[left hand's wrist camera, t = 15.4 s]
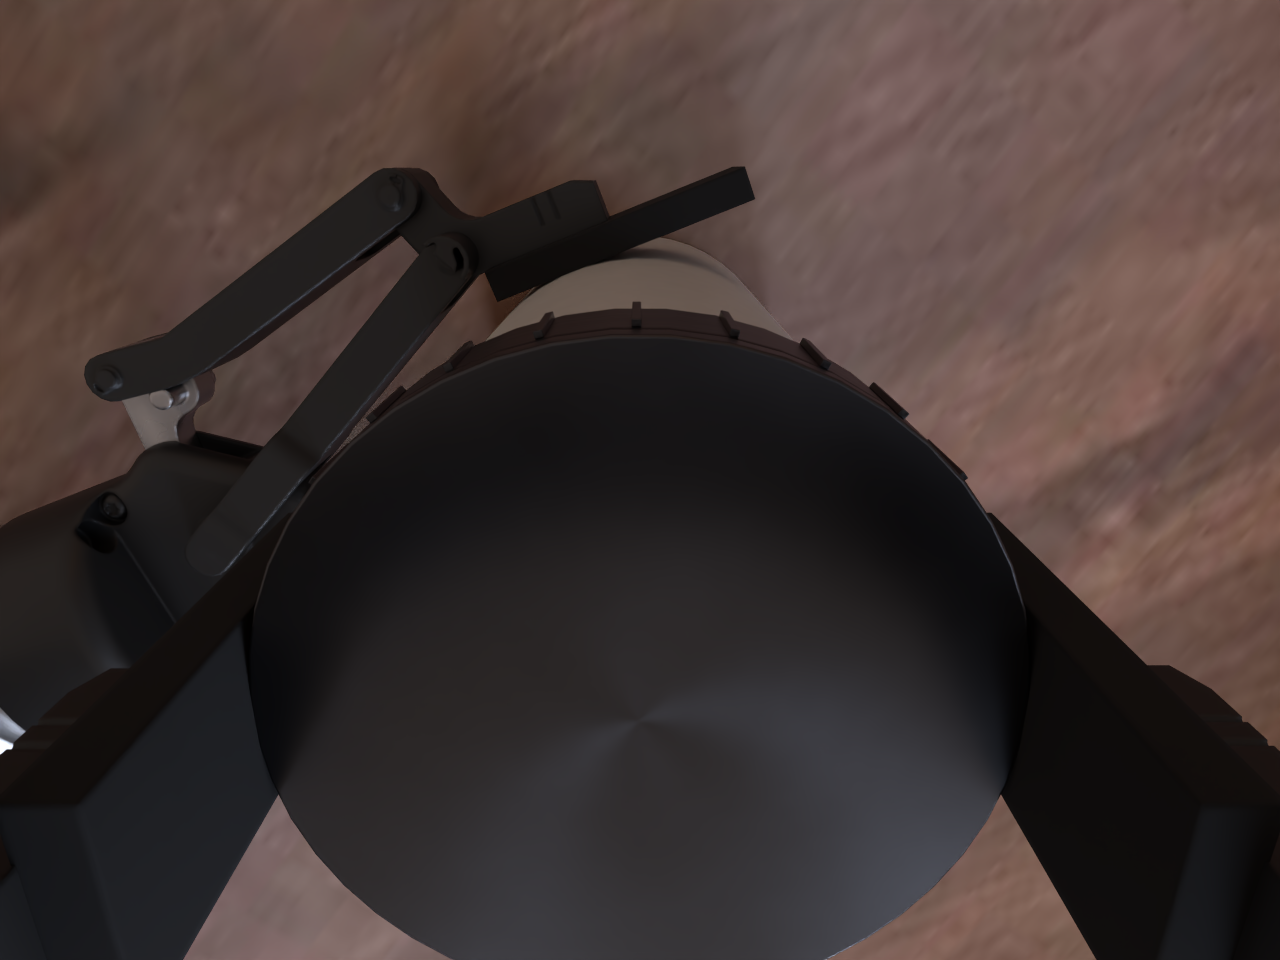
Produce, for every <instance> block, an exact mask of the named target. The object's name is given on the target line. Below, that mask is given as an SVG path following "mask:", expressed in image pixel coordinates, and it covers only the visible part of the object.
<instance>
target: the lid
mask: <svg viewBox="0 0 1280 960" xmlns="http://www.w3.org/2000/svg"><path fill="white" fill-rule="evenodd" d="M908 415H909V413H908V412H907V411H906V410H905V409H903V408H902V407H901V406H900V405H899V404H898V403H897V402H896V401H895V400H894V399H892V398H891V397H890V396H889V395H888V394H887V393H886V392H885V391H884V390H883V389H881V388H880V387H879V386H878V385H877V384H876V383H874V382H873V383H872V384H871V385H870V387H868V386H867V385H865V384H864V383H863V382H862V381H860V380H859V379H858V378H857V377H855V376H854V375H853V374H852V373H851V372H849V371H847V370H846V369H844V368H842V367H841V366H839V365H837V364H836V363H834V362H832V361H831V360H829V359H827V358H826V357H825V356H824V355H823V354H822V353H821V352H820V351H819V350H818V349H817V348H816V347H815V346H814V345H813V344H812V343H811V342H810V341H809V340H807V339H805V338H803V339H802V340H801V342H800V344H799V343H797V342H795V341H792V340H790V339H788V338H785V337H783V336H781V335H778V334H776V333H773V332H771V331H769V330H766V329H764V328H760V327H757V326H753V325H749V324H746V323H742V322H738V321H735V320H733V318H732V316H731V315H730V313H729V312H727V311H723V310H721V311H720V315H719V316H717V315H710V314H702V313H695V312H687V311H680V310H673V309H641V302H632V309H616V308H615V309H607V310H600V311H592V312H585V313H577V314H569V315H563V316H560V317H556V318H555V317H554V313H553V311H552V312H548V313H545V314H544V316H543V317H542V319H541V320H540V322H537V323H534V324H530V325H526V326H522V327H519V328H516V329H513V330H511V331H508V332H506V333H504V334H501V335H499V336H497V337H494V338H492V339H489V340H487V341H485V342H482V343H480V344H478V345H475V346H474V344H473V342H472V341H469V342H467V343H465V344H464V345H463V346H462V347H461V348H460V349H459V350H458V351H457V352H456V353H455V354H454V355H453V356H452V357H451V358H450V359H449V360H448V361H447V362H445V363H444V364H442V365H440V366H439V367H437V368H435V369H434V370H432V371H430V372H429V373H428V374H427V375H425V376H424V377H423V378H422V379H420V380H419V381H418V382H417V383H415V384H414V385H413V386H412V387H410V388H409V389H408V390H407V391H406V390H405V388H404V387H403V386H400V387H399V388H398V389H397V390H396V391H394V392H393V393H392V394H391V395H390V396H389V397H388V398H387V399H386V400H385V401H383V402H382V403H381V404H380V405H379V406H378V407H377V408H376V409H375V410H373V411H372V412H371V413H370V414H369V415H368V416H367V417H366V419H367V420H368V421H369V422H370V424H369V425H368V426H367V427H365V428H364V429H363V430H362V431H361V432H360V433H359V434H358V435H357V436H356V437H355V438H354V439H353V440H352V441H351V442H350V443H348V444H347V445H345V446H344V447H343V448H342V449H341V450H340V451H339V452H338V453H337V454H336V455H335V456H334V457H333V458H332V459H331V460H330V461H328V462H327V463H326V464H325V465H324V466H323V467H322V468H321V469H320V470H319V471H318V472H317V473H316V474H315V475H314V476H313V477H312V478H311V479H310V481H309V484H311V487H310V488H309V490H308V491H307V493H306V494H305V496H304V497H303V499H302V500H301V502H300V503H299V505H298V506H297V507H296V509H295V510H294V512H293V513H292V515H291V516H290V518H289V519H288V521H287V523H286V525H285V527H284V529H283V531H282V534H281V536H280V538H279V540H278V542H277V544H276V546H275V548H274V550H273V553H272V555H271V557H270V559H269V561H268V563H267V566H266V570H265V573H264V576H263V580H262V583H261V587H260V590H259V594H258V597H257V601H256V604H255V607H254V614H253V622H252V630H251V638H250V646H249V683H250V697H251V702H252V708H253V713H254V718H255V723H256V729H257V734H258V739H259V744H260V748H261V751H262V754H263V757H264V760H265V763H266V765H267V768H268V771H269V774H270V777H271V780H272V782H273V784H274V786H275V788H276V790H277V792H278V794H279V796H280V798H281V800H282V802H283V804H284V806H285V808H286V810H287V812H288V813H289V815H290V817H291V819H292V821H293V822H294V824H295V825H296V826H297V828H298V829H299V831H300V832H301V834H302V835H303V836H304V838H305V839H306V841H307V842H308V844H309V845H310V846H311V848H312V849H313V851H314V852H315V854H316V855H317V856H318V857H319V858H320V859H321V860H322V861H323V863H324V864H325V865H326V866H327V867H328V868H329V869H330V870H331V871H332V873H333V874H334V875H335V876H336V877H337V878H338V879H339V880H340V881H341V882H342V884H343V885H344V886H345V887H347V888H348V889H349V890H350V891H351V892H352V893H353V894H355V895H356V896H357V897H358V898H359V899H360V900H362V901H363V902H364V903H365V904H366V905H367V906H368V907H370V908H371V909H372V910H373V911H374V912H375V913H377V914H378V915H379V916H381V917H382V918H384V919H385V920H387V921H388V922H390V923H391V924H393V925H394V926H395V927H397V928H398V929H400V930H401V931H403V932H404V933H406V934H407V935H409V936H410V937H411V938H413V939H415V940H417V941H419V942H421V943H423V944H424V945H426V946H428V947H430V948H432V949H434V950H436V951H437V952H439V953H441V954H443V955H445V956H447V957H449V958H451V959H453V960H826V959H829V958H831V957H833V956H834V955H836V954H838V953H840V952H842V951H844V950H846V949H847V948H849V947H851V946H853V945H855V944H857V943H859V942H861V941H862V940H864V939H866V938H868V937H869V936H871V935H872V934H874V933H875V932H877V931H878V930H879V929H881V928H882V927H884V926H885V925H887V924H888V923H890V922H891V921H893V920H894V919H896V918H897V917H899V916H900V915H901V914H903V913H904V912H905V911H906V910H907V909H909V908H910V907H911V906H912V905H913V904H914V903H915V902H917V901H918V900H919V899H920V898H921V897H922V896H924V895H925V894H926V893H927V892H928V891H929V890H931V889H932V888H933V887H934V886H935V885H936V884H937V883H938V882H939V881H940V879H941V878H942V877H943V876H944V875H945V874H946V873H947V872H948V871H949V870H950V868H951V867H952V866H953V865H954V864H955V863H956V862H957V861H958V860H959V859H960V857H961V856H962V855H963V854H964V853H965V851H966V850H967V848H968V847H969V845H970V844H971V843H972V841H973V840H974V838H975V837H976V835H977V834H978V833H979V831H980V830H981V828H982V827H983V826H984V824H985V823H986V821H987V820H988V818H989V816H990V814H991V812H992V810H993V808H994V806H995V804H996V802H997V800H998V799H999V797H1000V795H1001V793H1002V791H1003V789H1004V787H1005V785H1006V783H1007V781H1008V778H1009V775H1010V772H1011V769H1012V766H1013V764H1014V761H1015V758H1016V755H1017V752H1018V749H1019V746H1020V741H1021V736H1022V730H1023V725H1024V720H1025V715H1026V709H1027V704H1028V698H1029V692H1030V664H1031V652H1030V644H1029V635H1028V627H1027V619H1026V610H1025V606H1024V603H1023V599H1022V596H1021V592H1020V589H1019V585H1018V582H1017V578H1016V575H1015V571H1014V568H1013V565H1012V563H1011V560H1010V558H1009V556H1008V554H1007V552H1006V550H1005V547H1004V545H1003V543H1002V541H1001V539H1000V537H999V535H998V533H997V530H996V528H995V526H994V524H993V522H992V520H991V519H990V517H989V516H988V514H987V513H986V511H985V510H984V508H983V507H982V505H981V504H980V502H979V501H978V499H977V498H976V497H975V495H974V494H973V492H972V491H971V489H970V488H969V486H968V485H967V483H966V482H965V480H966V479H968V477H967V476H966V474H965V473H964V472H963V471H962V470H961V469H960V468H959V467H958V466H957V465H956V464H955V463H954V462H952V461H951V460H950V459H949V458H948V457H947V456H946V455H945V454H944V453H943V452H942V451H941V450H940V449H939V448H938V447H936V446H935V445H934V444H933V443H932V442H931V441H930V440H929V439H928V440H927V439H926V438H925V437H923V436H922V435H921V434H920V433H919V432H918V431H917V430H916V429H915V428H914V427H913V426H912V425H911V424H910V423H909V422H908V421H907V420H905V418H906V417H907V416H908Z"/></svg>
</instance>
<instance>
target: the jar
mask: <svg viewBox="0 0 1280 960" xmlns="http://www.w3.org/2000/svg"><path fill="white" fill-rule="evenodd" d="M632 302H641V309H673V310H680V311H687V312H695V313H702V314H710V315H717V316H719V315H720V311H721V310H723V311H727V312H729V313H730V315H731V316H732V318H733V320H735V321H738V322H742V323H746V324H749V325H753V326H757V327H760V328H764V329H766V330H769V331H771V332H773V333H776V334H778V335H781V336H783V337H785V338H788V339H790V340H792V341H794V340H793V339H792V338H791V337H790V336H789V334H788V333H787V332H786V331H785V330H784V329H783V328H782V327H781V326H780V324H779V323H778V322H777V321H776V320H775V319H774V318H773V317H772V316H771V314H770V313H769V312H768V311H767V310H766V309H765V308H764V307H763V305H762V304H761V303H760V302H759V301H758V300H757V299H756V298H755V297H754V295H753V294H752V293H751V292H750V291H749V290H748V289H747V288H746V286H745V285H744V284H743V283H742V282H741V281H740V280H739V279H738V278H737V276H736V275H735V274H734V273H732V272H731V271H730V270H729V269H728V268H727V267H726V266H724V265H723V264H722V263H721V262H719V261H718V260H716V259H715V258H713V257H712V256H710V255H708V254H707V253H705V252H703V251H701V250H699V249H697V248H695V247H692V246H690V245H688V244H684V243H681V242H678V241H675V240H672V239H666V238H660V237H659V238H656V239H654V240H651V241H649V242H646V243H644V244H641V245H639V246H636V247H634V248H631V249H629V250H626V251H624V252H621V253H619V254H616V255H614V256H611V257H609V258H606V259H604V260H601V261H599V262H596V263H594V264H591V265H589V266H586V267H584V268H581V269H579V270H576V271H574V272H571V273H569V274H566V275H564V276H561V277H559V278H556V279H554V280H551V281H549V282H546V283H544V284H541V285H538V286H536V287H533V288H532V290H531V291H530V292H529V293H528V294H527V295H526V296H525V297H524V298H523V300H522V301H521V302H520V303H519V304H518V305H517V306H516V307H515V308H514V310H513V311H512V312H511V313H510V314H509V315H508V316H507V317H506V318H505V320H504V321H503V322H502V323H501V324H500V325H499V326H498V327H497V328H496V330H495V331H494V332H493V333H492V334H491V335H490V336H489V337H488V338H487V339H486V341H487V340H489V339H492V338H494V337H497V336H499V335H501V334H504V333H506V332H508V331H511V330H513V329H516V328H519V327H522V326H526V325H530V324H534V323H537V322H540V320H541V319H542V317H543V316H544V314H545V313H548V312H552V311H553V313H554V317H555V318H556V317H560V316H563V315H569V314H577V313H585V312H592V311H600V310H607V309H615V308H616V309H632Z"/></svg>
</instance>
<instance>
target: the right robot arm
mask: <svg viewBox="0 0 1280 960" xmlns="http://www.w3.org/2000/svg"><path fill="white" fill-rule="evenodd" d="M754 199H755V197H754V194H753V191H752V188H751V184H750V181H749V178H748V175H747V172H746V169H745V167H731V168H729V169H726V170H724V171H721V172H719V173H716V174H714V175H711V176H709V177H706V178H704V179H701V180H699V181H696V182H694V183H692V184H689V185H687V186H684V187H682V188H679V189H677V190H674V191H672V192H669V193H667V194H664V195H662V196H659V197H657V198H655V199H652V200H650V201H647V202H645V203H642V204H640V205H637V206H635V207H632V208H630V209H627V210H625V211H622V212H620V213H618V214H615V215H613V216H609V214H608V211H607V209H606V206H605V203H604V201H603V198H602V195H601V193H600V190H599V187H598V185H597V182H596V180H572V181H569V182H566V183H564V184H561V185H559V186H556V187H554V188H552V189H549V190H547V191H544V192H542V193H540V194H537V195H535V196H532V197H530V198H527V199H525V200H523V201H520V202H518V203H515V204H513V205H511V206H508V207H506V208H503V209H501V210H498V211H496V212H494V213H491V214H489V215H486V216H484V217H474V216H470V215H467V214H465V213H463V212H462V211H460V210H459V209H458V208H457V207H456V206H455V205H454V204H453V203H452V202H451V201H450V200H449V199H448V198H447V197H446V195H445V194H444V193H443V192H442V191H441V190H440V189H439V186H438V184H437V182H436V180H435V178H434V177H433V176H432V175H431V174H430V173H428V172H427V171H424V170H422V169H420V168H383V169H381V170H379V171H377V172H374V173H373V174H372V175H370V176H369V177H368V178H367V179H365V180H364V181H363V182H361V183H360V184H359V185H358V186H356V187H355V188H354V189H352V190H351V191H350V192H349V193H347V194H346V195H345V196H343V197H342V198H341V199H340V200H338V201H337V202H336V203H334V204H333V205H332V206H331V207H329V208H328V209H327V210H325V211H324V212H323V213H322V214H320V215H319V216H318V217H316V218H315V219H314V220H313V221H311V222H310V223H309V224H307V225H306V226H305V227H304V228H302V229H301V230H300V231H298V232H297V233H296V234H295V235H293V236H292V237H291V238H289V239H288V240H287V241H286V242H284V243H283V244H282V245H280V246H279V247H278V248H277V249H275V250H274V251H273V252H271V253H270V254H269V255H267V256H266V257H265V258H264V259H262V260H261V261H260V262H258V263H257V264H256V265H255V266H253V267H252V268H251V269H249V270H248V271H247V272H246V273H244V274H243V275H242V276H240V277H239V278H238V279H237V280H235V281H234V282H233V283H231V284H230V285H229V286H228V287H226V288H225V289H224V290H222V291H221V292H220V293H219V294H217V295H216V296H215V297H213V298H212V299H211V300H210V301H208V302H207V303H206V304H204V305H203V306H202V307H201V308H199V309H198V310H197V311H195V312H194V313H193V314H192V315H190V316H189V317H188V318H186V319H185V320H184V321H183V322H181V323H180V324H179V325H177V326H176V327H175V328H174V329H172V330H171V331H170V332H168V333H165V334H161V335H157V336H153V337H150V338H147V339H144V340H141V341H138V342H135V343H132V344H129V345H126V346H123V347H121V348H118V349H115V350H112V351H109V352H106V353H103V354H100V355H97V356H96V357H94V358H92V359H90V360H89V362H88V363H87V365H86V366H85V373H84V376H85V379H86V383H87V385H88V386H89V388H90V389H91V391H92V392H93V393H94V394H96V395H97V396H98V397H100V398H101V399H104V400H107V401H122V402H123V404H124V406H125V408H126V410H127V412H128V414H129V416H130V419H131V421H132V423H133V425H134V427H135V429H136V431H137V433H138V435H139V437H140V440H141V442H142V444H143V446H144V448H145V451H144V452H143V453H141V454H140V456H139V457H138V458H137V459H136V461H135V463H134V464H133V466H132V468H131V469H130V470H129V471H128V472H127V473H126V474H124V475H121V476H119V477H116V478H114V479H111V480H109V481H106V482H104V483H101V484H99V485H96V486H93V487H91V488H88V489H86V490H83V491H81V492H78V493H76V494H73V495H71V496H68V497H66V498H63V499H61V500H58V501H55V502H53V503H50V504H48V505H45V506H43V507H40V508H38V509H35V510H33V511H30V512H28V513H25V514H23V515H21V516H19V517H16V518H14V519H12V520H11V521H9V522H8V523H7V524H5V525H0V755H1V754H2V753H3V752H4V751H5V750H6V749H12V747H13V743H14V742H15V741H16V740H17V739H18V738H19V737H20V736H21V735H22V734H23V733H25V732H26V731H27V730H28V729H29V728H30V727H31V726H32V725H38V722H39V721H38V720H39V719H40V718H41V717H42V716H43V715H44V714H45V713H46V712H47V711H49V710H50V709H51V708H52V707H53V706H54V705H55V704H56V703H57V702H58V701H59V700H61V699H62V698H63V697H64V696H65V695H66V694H67V693H68V692H70V691H71V690H73V689H75V688H77V687H78V686H80V685H82V684H84V683H86V682H87V681H89V680H91V679H93V678H94V677H96V676H98V675H100V674H102V673H103V672H105V671H107V670H109V669H110V668H130V667H131V666H132V665H133V664H134V663H135V662H136V661H137V660H138V659H139V658H140V657H141V656H142V655H143V654H144V653H145V652H146V651H147V650H148V649H150V648H151V647H152V646H153V645H154V644H155V643H156V642H157V641H158V640H159V639H160V638H161V637H162V636H163V635H164V634H165V633H166V632H167V631H168V630H169V629H170V628H171V627H172V626H173V625H174V624H175V623H176V622H177V621H178V620H179V619H180V618H181V617H182V616H183V615H184V614H185V613H186V612H187V611H188V610H189V609H190V608H191V607H192V606H193V605H194V604H196V603H197V602H198V601H199V600H200V599H201V598H202V597H203V596H204V595H205V594H206V593H207V592H208V591H209V590H210V589H211V588H212V587H213V586H214V585H215V584H216V583H217V582H218V581H219V580H220V579H221V578H222V577H223V576H224V575H225V574H226V573H227V572H228V571H229V570H230V569H231V568H232V567H233V566H234V565H235V564H236V563H237V562H238V561H239V560H240V559H241V558H243V557H244V556H245V555H246V554H247V553H248V552H249V551H250V550H251V549H252V548H253V547H254V546H255V545H256V544H257V543H258V542H259V541H260V540H261V539H262V538H263V537H264V536H265V535H266V534H267V533H268V532H269V531H270V530H271V529H272V528H273V527H274V526H275V525H276V524H277V523H278V522H279V521H280V520H281V519H282V518H283V517H284V516H285V515H286V514H287V513H293V512H294V510H295V509H296V507H297V506H298V505H299V503H300V502H301V500H302V499H303V497H304V496H305V494H306V493H307V491H308V490H309V488H310V487H311V484H309V481H310V479H311V478H312V477H313V476H314V475H315V474H316V473H317V472H318V471H319V470H320V469H321V468H322V467H323V466H324V465H325V464H326V463H327V461H328V460H329V459H330V458H331V456H332V455H333V454H334V453H335V452H336V450H337V449H338V448H339V447H340V446H341V444H342V443H343V442H344V441H345V439H346V438H347V437H348V436H349V434H350V433H351V431H352V429H353V428H354V427H355V426H356V424H357V423H358V422H359V421H360V420H361V418H362V417H363V416H364V415H365V413H366V412H367V411H368V410H369V409H370V407H371V406H372V405H373V404H374V403H375V401H376V400H377V399H378V398H379V396H380V395H381V394H382V393H383V392H384V390H385V389H386V388H387V387H388V385H389V384H390V383H391V382H392V381H393V379H394V378H395V377H396V376H397V375H398V373H399V372H400V371H401V370H402V368H403V367H404V366H405V365H406V364H407V362H408V361H409V360H410V359H411V358H412V356H413V355H414V354H415V353H416V351H417V350H418V349H419V348H420V347H421V345H422V344H423V343H424V342H425V340H426V339H427V338H428V337H429V336H430V334H431V333H432V332H433V331H434V330H435V328H436V327H437V326H438V325H439V323H440V322H441V321H442V320H443V319H444V317H445V316H446V315H447V314H448V313H449V311H450V310H451V309H452V308H453V306H454V305H455V304H456V303H457V302H458V300H459V299H460V298H461V297H462V295H463V294H464V293H465V292H466V291H467V289H468V288H469V287H470V286H471V285H472V283H473V282H474V281H475V280H476V278H477V277H478V276H479V275H480V274H482V273H485V274H486V277H487V279H488V281H489V284H490V286H491V288H492V290H493V293H494V295H495V297H496V299H497V302H498V301H501V300H503V299H506V298H508V297H511V296H513V295H516V294H518V293H521V292H523V291H526V290H528V289H531V288H533V287H536V286H538V285H541V284H544V283H546V282H549V281H551V280H554V279H556V278H559V277H561V276H564V275H566V274H569V273H571V272H574V271H576V270H579V269H581V268H584V267H586V266H589V265H591V264H594V263H596V262H599V261H601V260H604V259H606V258H609V257H611V256H614V255H616V254H619V253H621V252H624V251H626V250H629V249H631V248H634V247H636V246H639V245H641V244H644V243H646V242H649V241H651V240H654V239H656V238H659V237H661V236H664V235H666V234H669V233H671V232H674V231H676V230H679V229H681V228H684V227H686V226H689V225H691V224H694V223H696V222H699V221H701V220H704V219H706V218H709V217H711V216H714V215H716V214H719V213H721V212H724V211H727V210H729V209H732V208H734V207H737V206H739V205H742V204H744V203H747V202H749V201H752V200H754ZM400 236H402V237H403V238H404V239H405V240H406V241H407V242H408V243H409V244H410V245H411V246H412V247H413V248H414V249H415V251H416V252H417V253H418V254H419V256H418V257H417V258H416V260H415V261H414V262H413V263H412V265H411V266H410V267H409V268H408V270H407V271H406V272H405V273H404V275H403V276H402V277H401V279H400V280H399V281H398V282H397V284H396V285H395V286H394V287H393V289H392V290H391V291H390V292H389V294H388V295H387V296H386V297H385V299H384V300H383V301H382V303H381V304H380V305H379V306H378V308H377V309H376V310H375V311H374V313H373V314H372V315H371V316H370V318H369V319H368V320H367V321H366V323H365V324H364V325H363V327H362V328H361V329H360V330H359V332H358V333H357V334H356V335H355V337H354V338H353V339H352V340H351V342H350V343H349V344H348V345H347V347H346V348H345V349H344V351H343V352H342V353H341V354H340V356H339V357H338V358H337V359H336V361H335V362H334V363H333V364H332V366H331V367H330V368H329V369H328V371H327V372H326V373H325V375H324V376H323V377H322V378H321V380H320V381H319V382H318V383H317V385H316V386H315V387H314V388H313V390H312V391H311V392H310V393H309V395H308V396H307V397H306V399H305V400H304V401H303V402H302V404H301V405H300V406H299V407H298V409H297V410H296V411H295V412H294V414H293V415H292V416H291V417H290V419H289V420H288V421H287V423H286V424H285V425H284V426H283V427H282V428H281V429H280V430H279V431H278V432H277V433H276V434H275V435H274V436H273V437H272V438H271V439H270V441H269V442H268V443H267V444H266V445H265V446H264V447H263V446H259V445H255V444H251V443H247V442H243V441H238V440H234V439H230V438H226V437H222V436H218V435H214V434H210V433H206V432H201V431H196V430H195V427H194V424H193V417H194V414H195V411H196V410H197V409H198V407H199V406H201V405H203V404H204V403H206V402H208V401H209V400H210V399H211V398H212V396H213V394H214V391H215V381H216V377H215V374H214V373H213V371H212V369H214V368H216V367H218V366H220V365H222V364H225V363H227V362H229V361H231V360H233V359H235V358H237V357H239V356H240V355H242V354H243V353H245V352H246V351H248V350H250V349H251V348H252V347H254V346H255V345H256V344H258V343H259V342H260V341H262V340H263V339H264V338H266V337H267V336H268V335H270V334H271V333H272V332H274V331H275V330H276V329H278V328H279V327H280V326H282V325H283V324H284V323H286V322H287V321H288V320H290V319H291V318H292V317H294V316H295V315H296V314H298V313H299V312H300V311H302V310H303V309H304V308H306V307H307V306H308V305H310V304H311V303H312V302H314V301H315V300H316V299H318V298H319V297H320V296H322V295H323V294H324V293H326V292H327V291H328V290H330V289H331V288H332V287H334V286H335V285H336V284H338V283H339V282H340V281H342V280H343V279H344V278H346V277H347V276H348V275H350V274H351V273H352V272H354V271H355V270H356V269H358V268H359V267H360V266H362V265H363V264H364V263H365V262H367V261H368V260H369V259H371V258H372V257H373V256H375V255H376V254H377V253H379V252H380V251H381V250H383V249H384V248H385V247H387V246H388V245H389V244H391V243H392V242H393V241H395V240H396V239H397V238H399V237H400Z"/></svg>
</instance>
